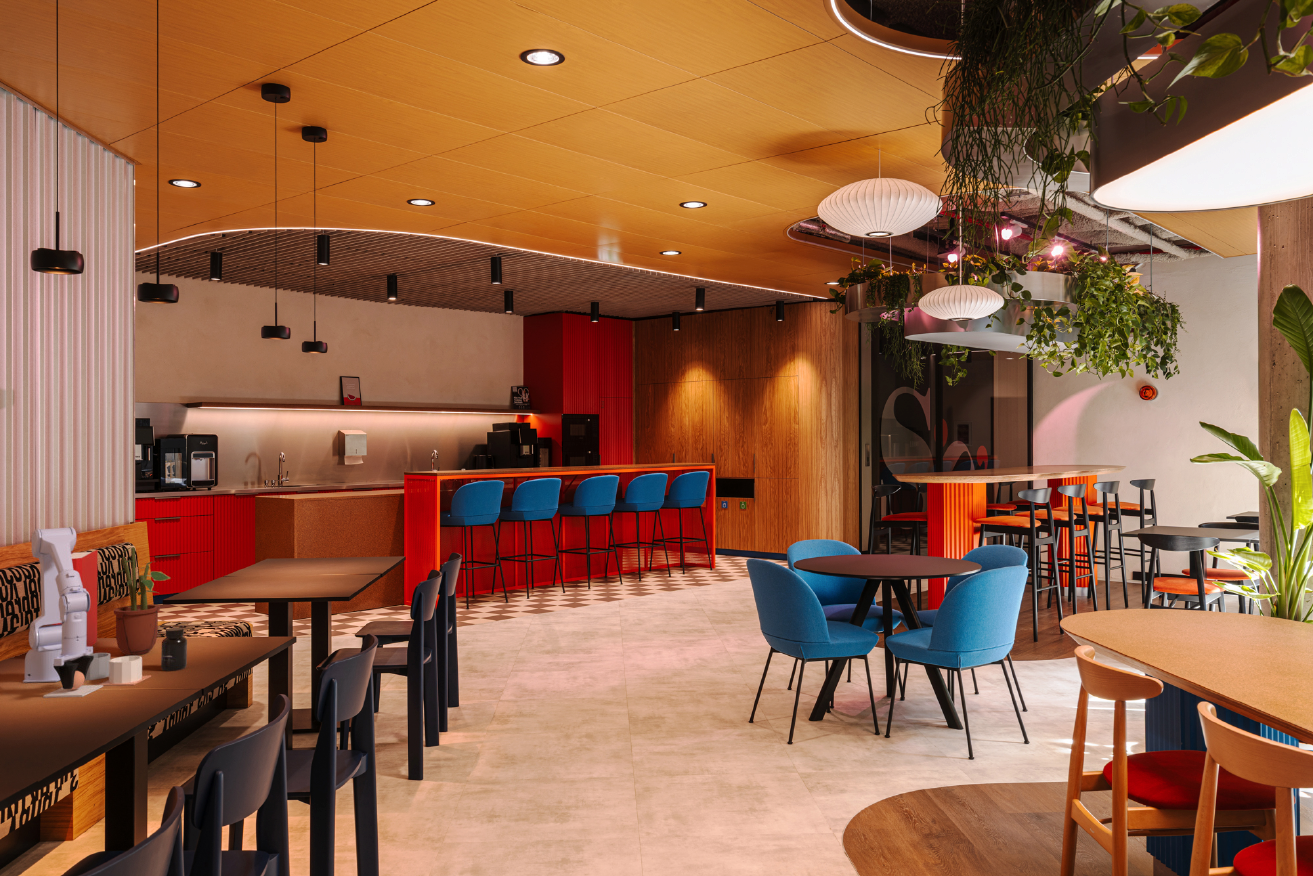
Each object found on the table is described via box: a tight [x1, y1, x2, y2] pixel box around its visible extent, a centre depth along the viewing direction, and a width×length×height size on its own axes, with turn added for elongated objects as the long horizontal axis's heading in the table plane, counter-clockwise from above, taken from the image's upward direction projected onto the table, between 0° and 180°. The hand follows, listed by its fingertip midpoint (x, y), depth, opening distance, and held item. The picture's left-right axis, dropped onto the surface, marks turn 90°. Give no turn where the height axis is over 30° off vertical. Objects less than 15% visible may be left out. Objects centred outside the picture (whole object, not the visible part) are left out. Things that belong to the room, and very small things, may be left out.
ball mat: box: [43, 684, 104, 699], centre depth 241 cm, size 10×10×1 cm
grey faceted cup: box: [85, 652, 111, 681], centre depth 258 cm, size 8×8×6 cm
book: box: [51, 549, 98, 647], centre depth 292 cm, size 27×8×32 cm, turn 23°
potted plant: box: [111, 546, 171, 656], centre depth 290 cm, size 17×16×35 cm
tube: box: [99, 655, 152, 687], centre depth 252 cm, size 10×10×6 cm
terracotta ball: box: [70, 671, 86, 690], centre depth 241 cm, size 5×5×5 cm
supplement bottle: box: [160, 627, 188, 672], centre depth 267 cm, size 7×7×12 cm
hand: (73, 686), depth 241 cm, fingers closed on terracotta ball, 5 cm apart
